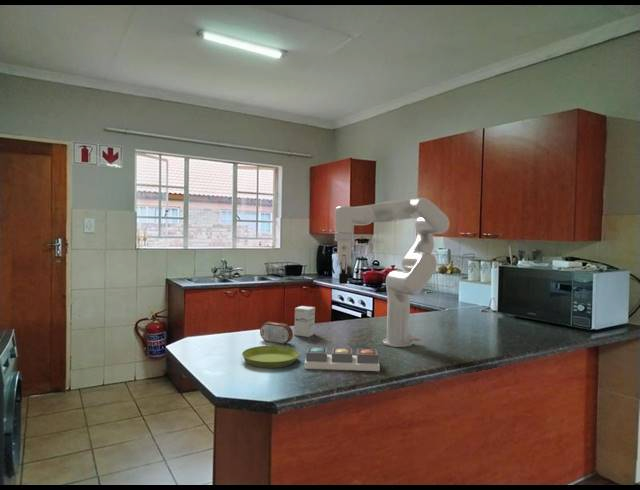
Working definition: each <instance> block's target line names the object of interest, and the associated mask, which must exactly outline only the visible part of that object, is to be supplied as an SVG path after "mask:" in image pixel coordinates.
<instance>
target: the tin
mask: <svg viewBox="0 0 640 490" xmlns="http://www.w3.org/2000/svg"><path fill="white" fill-rule="evenodd" d="M293 332H294V331H293V329H292V328H291V325H290V326H289V325H288V324H287V323H282V322H274V321H267V322H264V323H263V324H262V325H261V326H260V328H259V334H260V337H261V339H262V340H263V341H265V342H268V343H274V344H281V345H286V344H288V343H289V342H291V340H292V339H293V337H294V333H293Z"/></svg>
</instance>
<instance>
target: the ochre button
mask: <svg viewBox="0 0 640 490" xmlns="http://www.w3.org/2000/svg"><path fill="white" fill-rule="evenodd" d="M347 349H348V348H346V349H336V350H335V353H348V354H349V350H347Z"/></svg>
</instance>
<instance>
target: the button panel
mask: <svg viewBox="0 0 640 490" xmlns="http://www.w3.org/2000/svg"><path fill="white" fill-rule="evenodd" d="M312 348H317V347H316V346H315V347H313V346H311V347H309V346H308V347H307V348H306V355H305V360H304V364H303V365H304V368H303V369H308V370H310V369H311V370H313V369H314V370H334V371H335V370H336V371H337V370H339V371H340V370H341V371H364V372H365V371H366V372H367V371H368V372H369V371H370V372H380V370H381V369H380V368H381V365H380V361H379V353H378V349H376V348H375V349H374V348H373V349H372V348H371V349H369V348H356V354H355V355H353V348H342V347H332V348H331V354H328V347H320V348H321V349H324V353H318V352H310V349H312ZM336 349H347V350H349V354H348V353H335V350H336ZM361 350H372V351H374V354H360V351H361Z"/></svg>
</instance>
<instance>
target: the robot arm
mask: <svg viewBox="0 0 640 490" xmlns="http://www.w3.org/2000/svg"><path fill="white" fill-rule="evenodd" d="M334 212H335V213H334V241H335V242H337V262H338V263H337V265H338V267H339V273H338V275H339V276H338V277H339V279H338V284H340V285H347V284H348V267H351V266H352V242H354V240H355V237H354V236H355V231H354V230H355V226H368V225H370V224H372V223H392V222H397V221H406V220H411V219H416V220H415V221H414V223H415V224H414V227H415V228H414V229H415V233H416V240H415V241H414V243H413V244H412V246H411V247H410V249H409V250H408V251H407V253H406V254H405V256H404V257H403V258H402V261H401V267H402V268H403V270H402V269H401V270H400V269H395V270H394V269H393V270H391V271H390V272H389V273H388V274H387V275H386V278H385V288H386V296H387V304H386V305H387V307H386V309H387V311H386V337H385V338H382V339H383V340H382V344H383V345H385V346H387V347H388V346H389V347H393V348H408V347H411V346H413V344H414V342H413V341H419V342H420V341H421V336H419V335H416V334H415V335H413V334H412V335H411V334H410V318H411V315H410V314H411V313H410V312H411V310H410V308H411V301H410V300H411V299H410V296H416V295H418V294H420V293H421V292H422V291H423V289H424V288H425V287H426V285H427V284H428V282H429V281H430V280H431V278H433V277H432V276H433V275H434V274H435V272H436V270H437V265H438V264H437V263H438V261H437V259H436V257H435V255H434V254H433V250H434V248H435V240H434V236H433V235H434V234H435V235H436V234H437V235H441V234H445V233H446V232H447V231H448V230H449V228H450V220H449V218H448V215H446V214H445V213H444V212H443V211H442V210H441V209H440V208H439V207H438V206H437V205H435V204H434V203H433V202H432V201H431V200H429V199H428V198H426V197H416V198H415V197H414V198H405V199H398V200H391V201H390V200H389V201H383V202H378V203H374V204H373V203H372V204H368V205H367V204H366V205H358V206H348V205H340V206H337V207H335V211H334Z"/></svg>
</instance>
